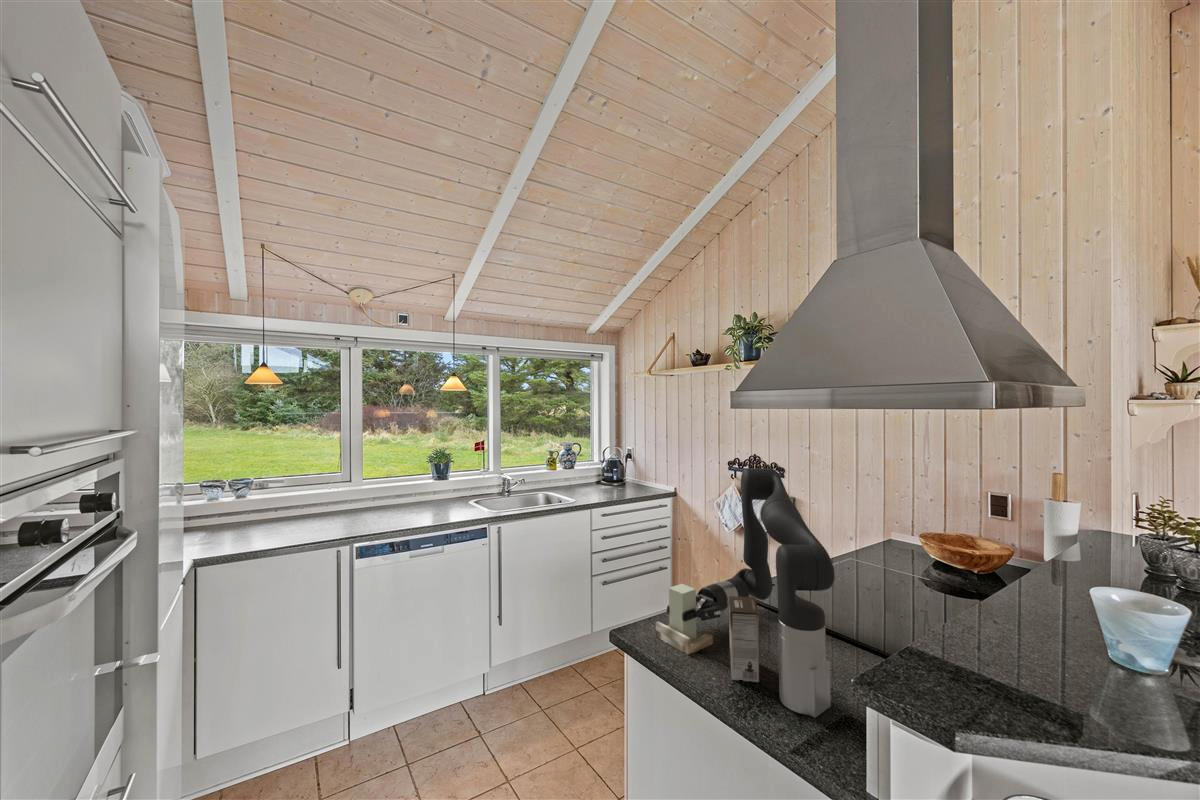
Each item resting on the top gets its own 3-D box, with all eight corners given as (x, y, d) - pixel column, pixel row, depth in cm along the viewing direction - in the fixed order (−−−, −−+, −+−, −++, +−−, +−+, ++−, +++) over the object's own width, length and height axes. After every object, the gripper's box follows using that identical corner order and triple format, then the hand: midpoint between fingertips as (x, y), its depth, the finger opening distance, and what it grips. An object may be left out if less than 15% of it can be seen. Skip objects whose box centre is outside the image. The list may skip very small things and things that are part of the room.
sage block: (696, 641, 131) (695, 589, 131) (683, 647, 128) (682, 593, 128) (682, 634, 135) (682, 583, 135) (669, 640, 132) (668, 587, 132)
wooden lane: (712, 643, 129) (712, 628, 129) (688, 655, 124) (688, 639, 124) (680, 627, 139) (679, 612, 139) (655, 636, 134) (655, 622, 134)
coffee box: (729, 659, 122) (728, 594, 122) (756, 661, 120) (755, 596, 120) (731, 680, 113) (730, 610, 113) (760, 683, 111) (759, 612, 111)
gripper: (699, 576, 145) (656, 591, 135) (738, 591, 134) (695, 608, 124) (699, 602, 145) (657, 618, 135) (739, 619, 134) (696, 638, 124)
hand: (675, 613), depth 130 cm, fingers closed on sage block, 5 cm apart
